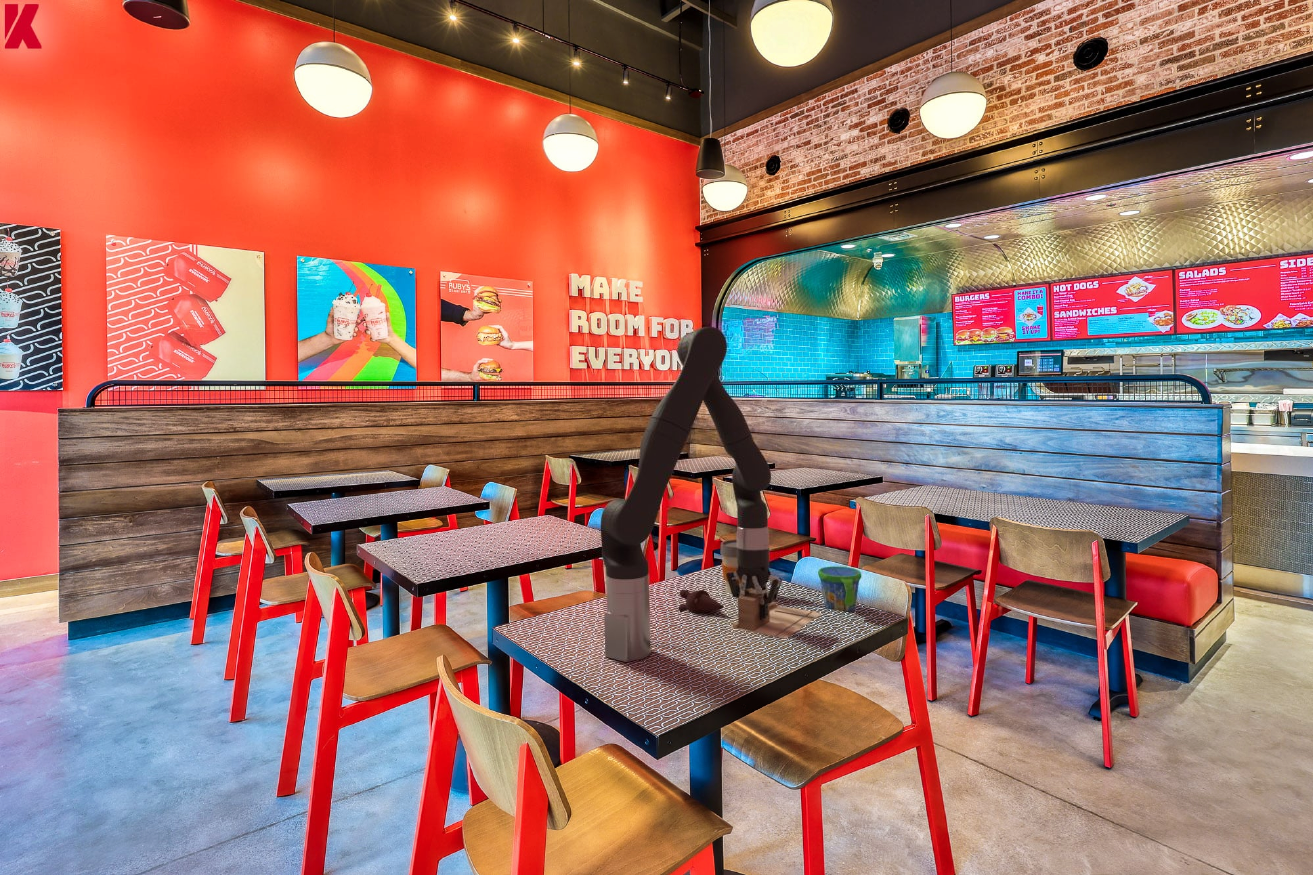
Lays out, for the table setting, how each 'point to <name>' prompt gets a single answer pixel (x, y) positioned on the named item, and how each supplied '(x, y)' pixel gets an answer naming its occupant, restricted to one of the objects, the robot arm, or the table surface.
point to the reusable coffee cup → (729, 560)
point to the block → (750, 612)
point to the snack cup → (839, 587)
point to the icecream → (698, 602)
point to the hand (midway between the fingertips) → (754, 617)
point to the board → (783, 621)
